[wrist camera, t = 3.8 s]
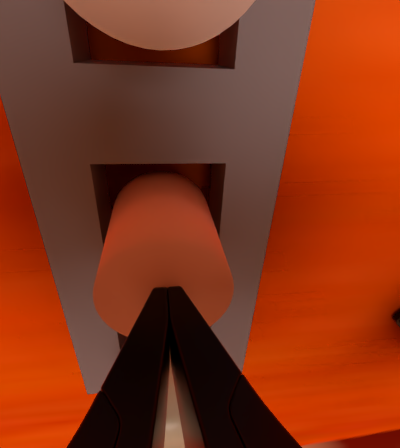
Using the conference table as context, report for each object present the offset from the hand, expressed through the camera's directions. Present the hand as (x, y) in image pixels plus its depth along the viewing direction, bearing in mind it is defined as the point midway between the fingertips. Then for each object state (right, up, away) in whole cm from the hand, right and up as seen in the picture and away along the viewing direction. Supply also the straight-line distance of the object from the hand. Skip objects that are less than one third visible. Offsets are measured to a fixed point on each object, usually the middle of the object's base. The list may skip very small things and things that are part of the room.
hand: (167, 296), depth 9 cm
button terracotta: (-1, +3, +4) cm, 5 cm away
